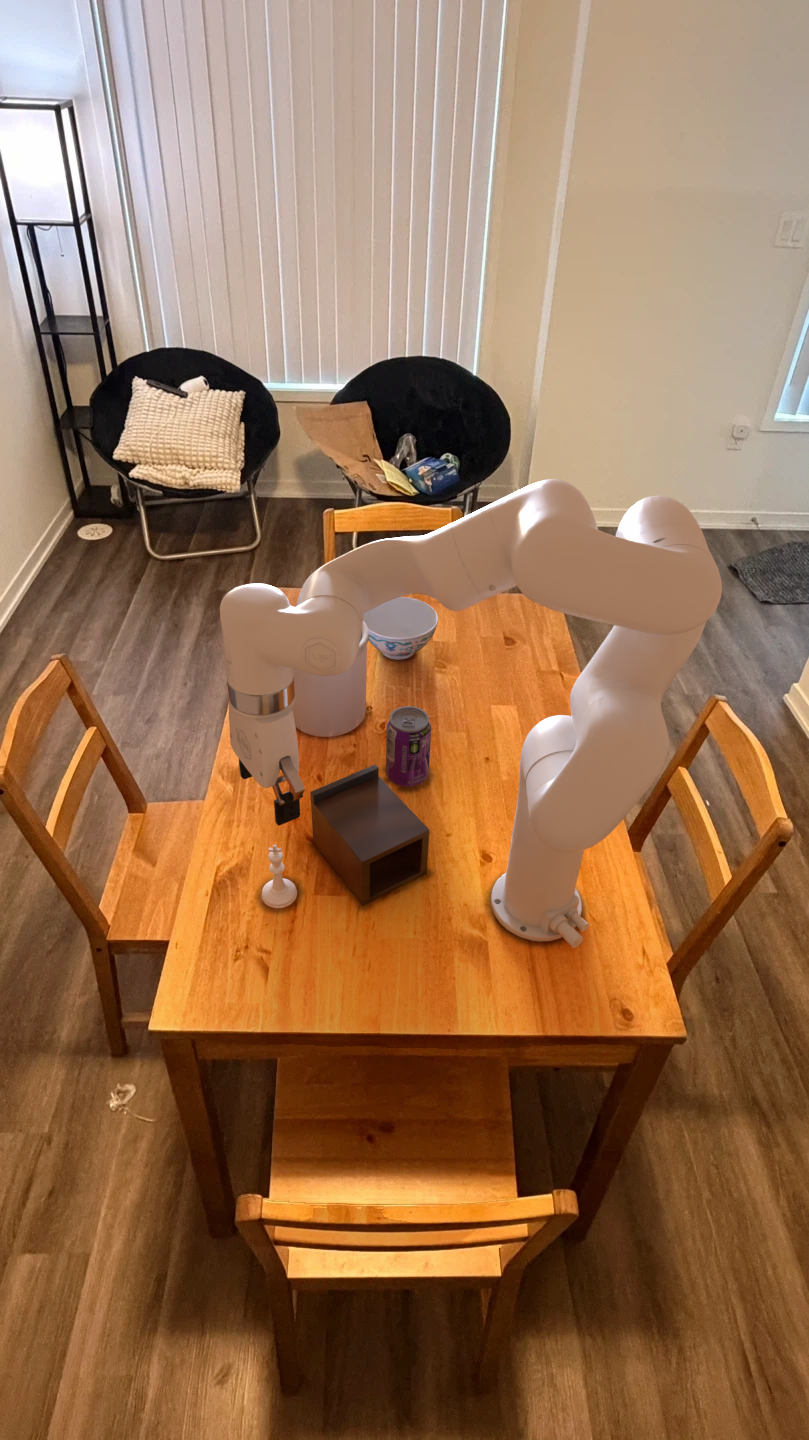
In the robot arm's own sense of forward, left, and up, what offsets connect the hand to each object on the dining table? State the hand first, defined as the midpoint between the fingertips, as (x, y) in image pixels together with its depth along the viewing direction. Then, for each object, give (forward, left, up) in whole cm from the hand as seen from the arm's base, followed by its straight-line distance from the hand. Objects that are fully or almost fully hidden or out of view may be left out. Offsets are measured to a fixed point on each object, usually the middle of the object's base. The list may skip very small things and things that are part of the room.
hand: (269, 796), depth 108 cm
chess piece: (0, 0, -19) cm, 19 cm away
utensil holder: (+32, -26, -19) cm, 45 cm away
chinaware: (+42, -48, -19) cm, 66 cm away
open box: (-1, -14, -19) cm, 24 cm away
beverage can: (+11, -29, -19) cm, 36 cm away
